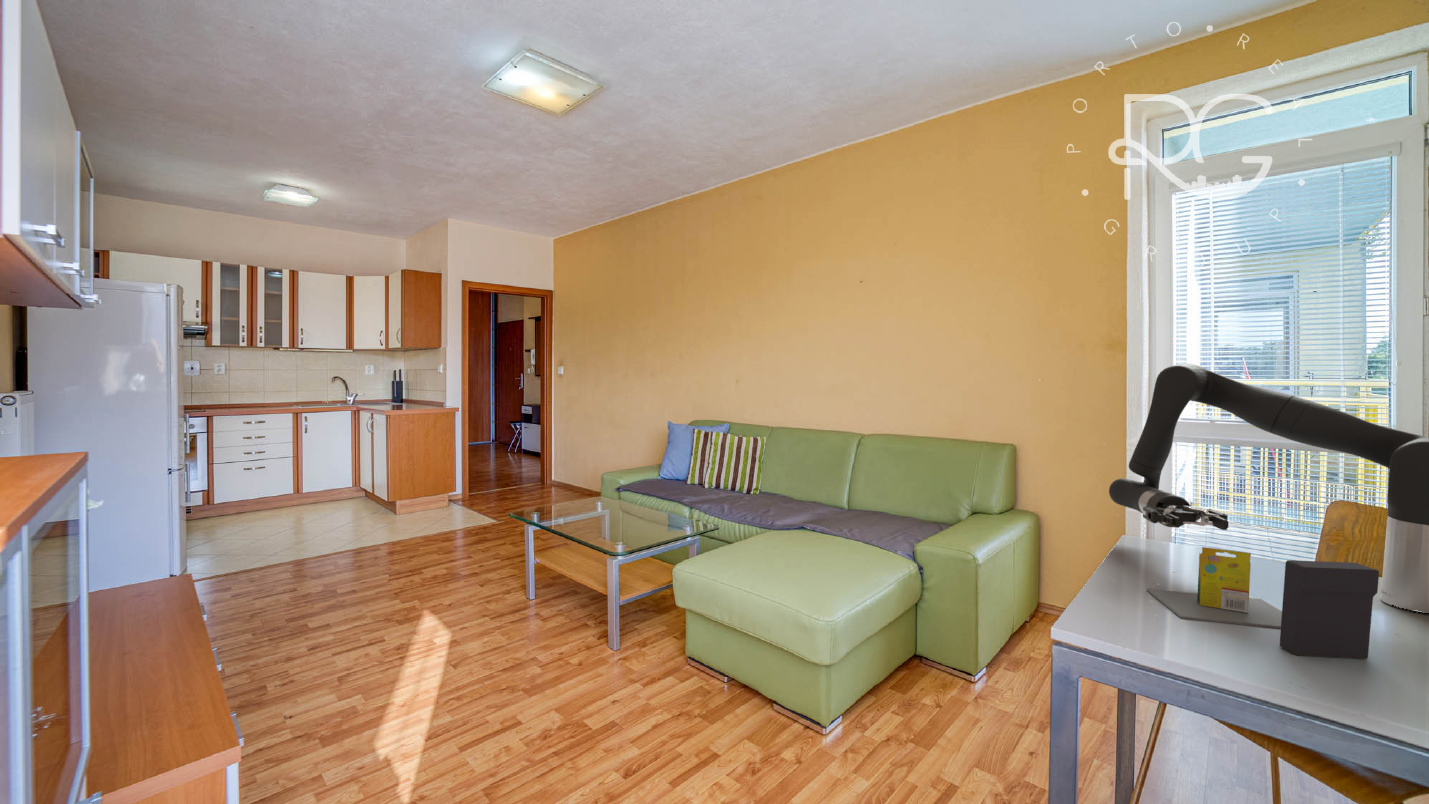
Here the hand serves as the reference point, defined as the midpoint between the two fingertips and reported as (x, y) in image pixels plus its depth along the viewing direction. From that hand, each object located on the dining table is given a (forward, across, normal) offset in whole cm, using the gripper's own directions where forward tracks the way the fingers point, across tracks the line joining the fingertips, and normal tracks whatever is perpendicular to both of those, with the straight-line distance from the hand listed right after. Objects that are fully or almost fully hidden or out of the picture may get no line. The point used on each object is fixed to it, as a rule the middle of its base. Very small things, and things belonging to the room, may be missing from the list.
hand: (1201, 524), depth 124 cm
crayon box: (+12, -2, +14) cm, 18 cm away
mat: (+12, -2, +14) cm, 18 cm away
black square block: (+28, +4, +14) cm, 32 cm away
